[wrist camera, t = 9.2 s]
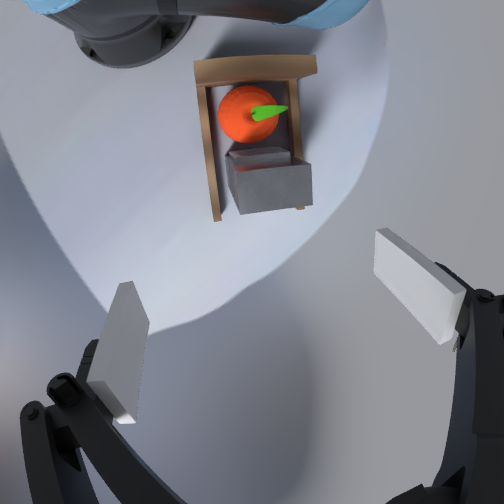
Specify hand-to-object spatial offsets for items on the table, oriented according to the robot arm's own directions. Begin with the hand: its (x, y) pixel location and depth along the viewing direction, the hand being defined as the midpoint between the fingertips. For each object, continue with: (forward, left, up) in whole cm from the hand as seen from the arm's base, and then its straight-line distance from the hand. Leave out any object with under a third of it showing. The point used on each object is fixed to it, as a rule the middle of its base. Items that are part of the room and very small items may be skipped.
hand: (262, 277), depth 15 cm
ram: (-1, +4, -25) cm, 26 cm away
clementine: (-8, +4, -26) cm, 27 cm away
